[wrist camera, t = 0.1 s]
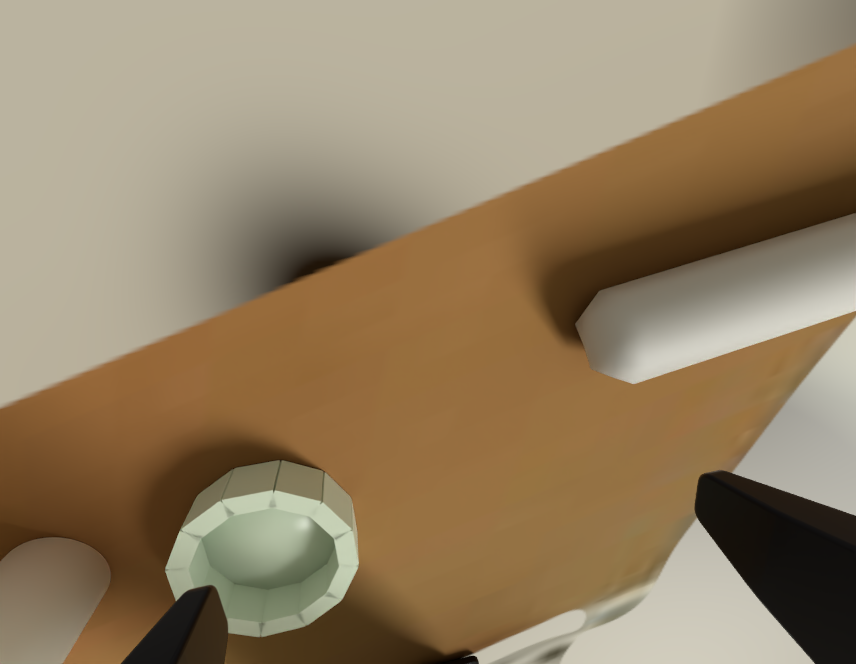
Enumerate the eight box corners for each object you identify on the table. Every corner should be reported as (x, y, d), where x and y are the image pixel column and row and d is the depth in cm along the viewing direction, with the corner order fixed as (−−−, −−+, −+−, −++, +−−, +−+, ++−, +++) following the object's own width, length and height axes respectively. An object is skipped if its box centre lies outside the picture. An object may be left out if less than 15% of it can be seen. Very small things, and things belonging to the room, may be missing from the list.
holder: (364, 574, 26) (366, 611, 23) (209, 609, 24) (195, 653, 22) (343, 448, 23) (343, 476, 20) (166, 480, 21) (144, 515, 19)
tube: (611, 417, 21) (1011, 282, 24) (624, 336, 18) (1087, 189, 20) (558, 353, 25) (903, 244, 28) (561, 278, 22) (952, 162, 24)
